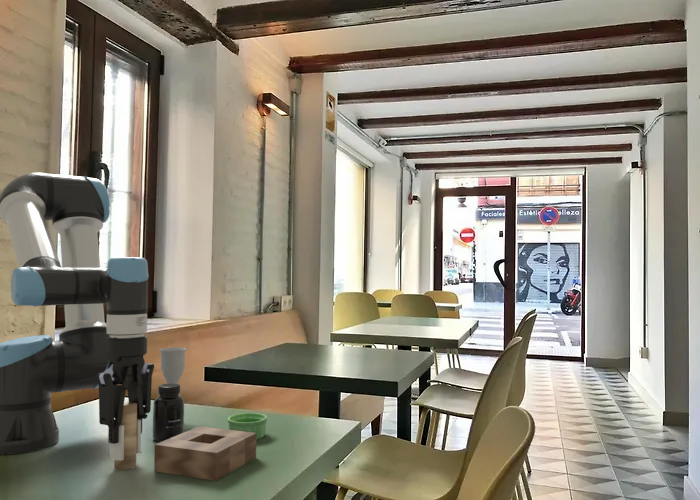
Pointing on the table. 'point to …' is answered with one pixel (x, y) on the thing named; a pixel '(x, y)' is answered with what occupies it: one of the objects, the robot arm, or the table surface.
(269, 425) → the table surface
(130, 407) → the peg
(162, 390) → the supplement bottle
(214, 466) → the socket block
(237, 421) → the ramekin
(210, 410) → the table surface
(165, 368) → the chalice
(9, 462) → the table surface
